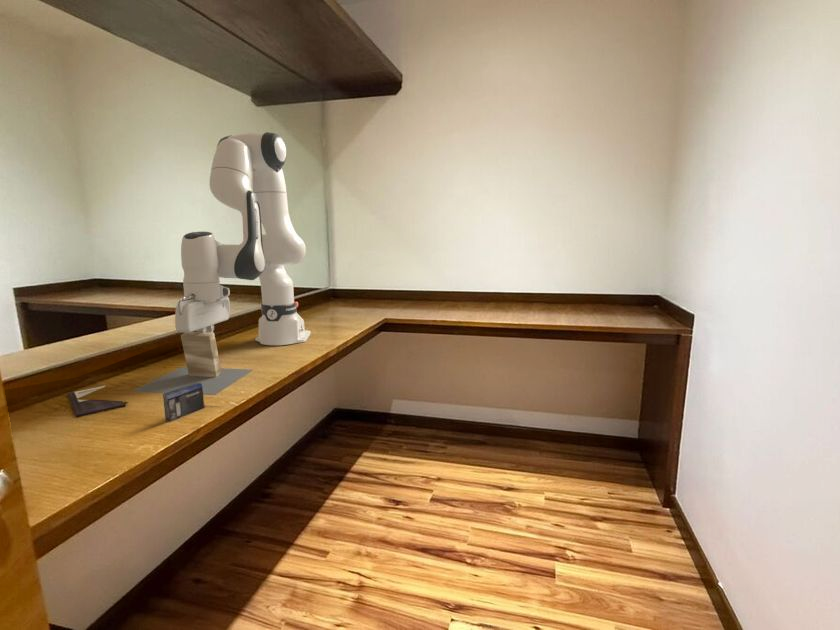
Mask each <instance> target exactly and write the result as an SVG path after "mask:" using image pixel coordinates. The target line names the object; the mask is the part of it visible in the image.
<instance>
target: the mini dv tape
mask: <svg viewBox="0 0 840 630" xmlns="http://www.w3.org/2000/svg"><path fill="white" fill-rule="evenodd" d="M162 399H163V407H164V409H163V410H164V417H165V418H164V419H165V421H167V422H170V423H171V422H173V421H177V420H178V419H180V418H183V417H186V416H189V415H190V414H193V413H195V412H198V411H201V410H203V409H205V401H204V400H205V399H204V395H203V388H202V384H201V383H198V382H197V383H194V384H191V385H188V386H185V387H182V388H179V389H176V390H173V391H170V392H167V393H162Z"/></svg>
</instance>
